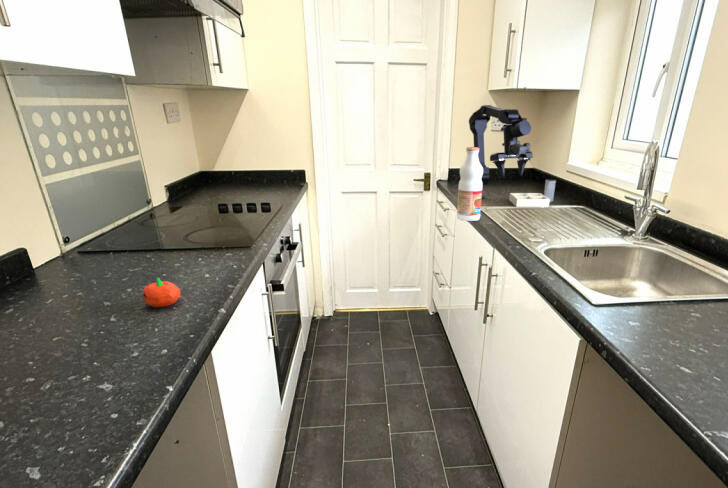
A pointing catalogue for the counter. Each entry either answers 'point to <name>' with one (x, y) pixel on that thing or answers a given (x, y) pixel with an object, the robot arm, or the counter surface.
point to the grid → (529, 200)
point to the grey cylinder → (549, 189)
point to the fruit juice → (470, 187)
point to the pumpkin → (161, 293)
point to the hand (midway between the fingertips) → (512, 176)
